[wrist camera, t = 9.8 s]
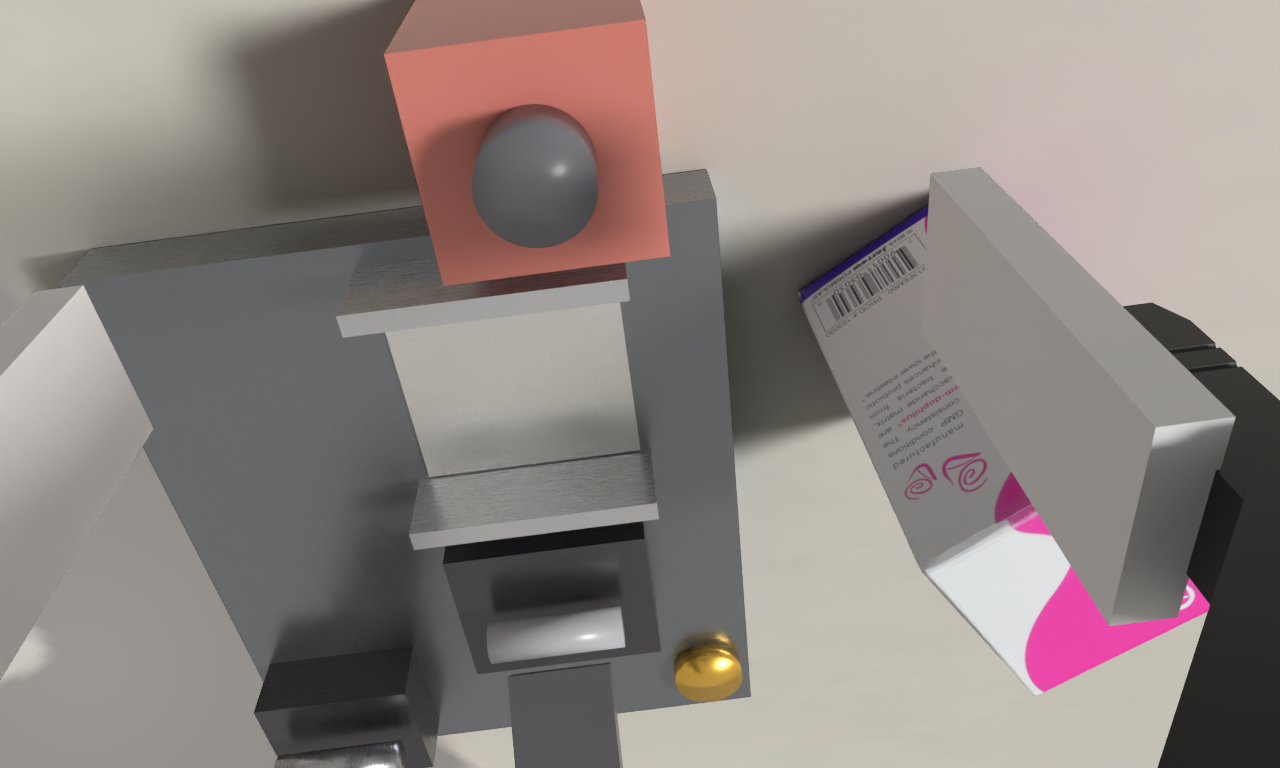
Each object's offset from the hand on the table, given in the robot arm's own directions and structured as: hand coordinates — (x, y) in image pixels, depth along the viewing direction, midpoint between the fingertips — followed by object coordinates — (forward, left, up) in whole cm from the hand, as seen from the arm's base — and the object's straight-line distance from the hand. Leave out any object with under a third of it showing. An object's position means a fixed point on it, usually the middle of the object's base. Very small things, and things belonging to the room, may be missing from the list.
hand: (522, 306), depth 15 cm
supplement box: (+8, +10, -12) cm, 17 cm away
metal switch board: (+13, -4, -11) cm, 18 cm away
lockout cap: (0, 0, -11) cm, 11 cm away
